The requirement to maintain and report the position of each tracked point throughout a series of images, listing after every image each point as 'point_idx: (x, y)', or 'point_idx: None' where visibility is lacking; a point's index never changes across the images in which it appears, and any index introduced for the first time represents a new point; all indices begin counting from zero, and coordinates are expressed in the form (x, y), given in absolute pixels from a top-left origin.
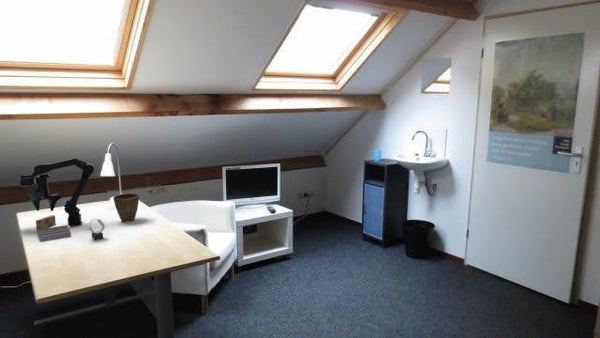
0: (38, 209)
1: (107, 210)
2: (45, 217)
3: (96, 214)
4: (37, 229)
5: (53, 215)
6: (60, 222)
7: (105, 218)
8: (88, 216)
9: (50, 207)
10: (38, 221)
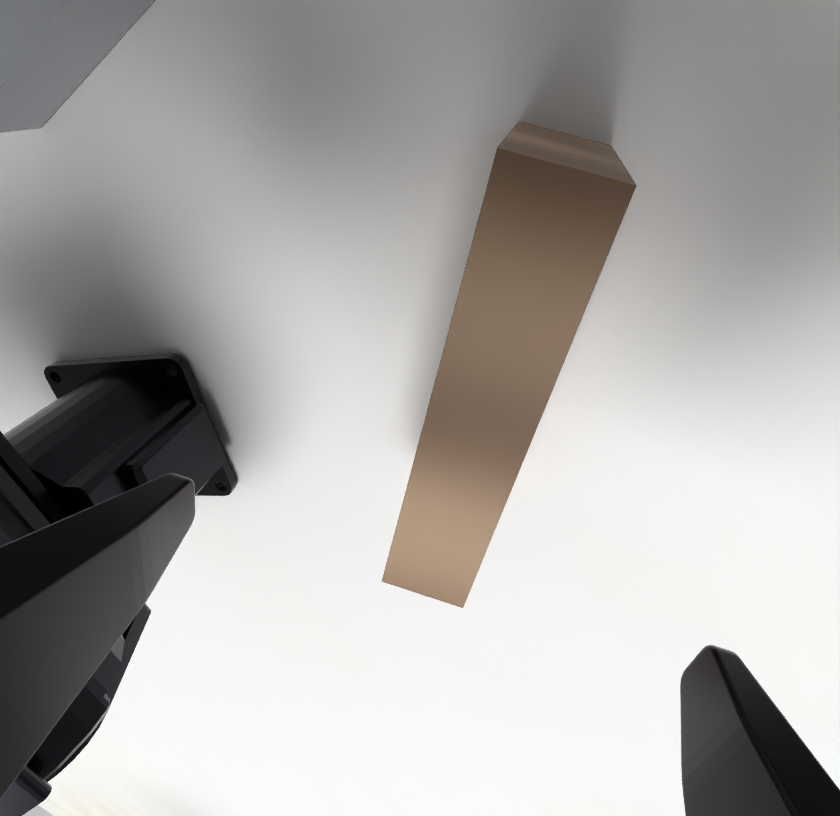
0: (698, 703)
1: (193, 785)
2: (501, 479)
3: (201, 717)
4: (592, 143)
5: (407, 584)
6: None
7: None
8: (232, 682)
9: (59, 561)
10: (540, 158)
